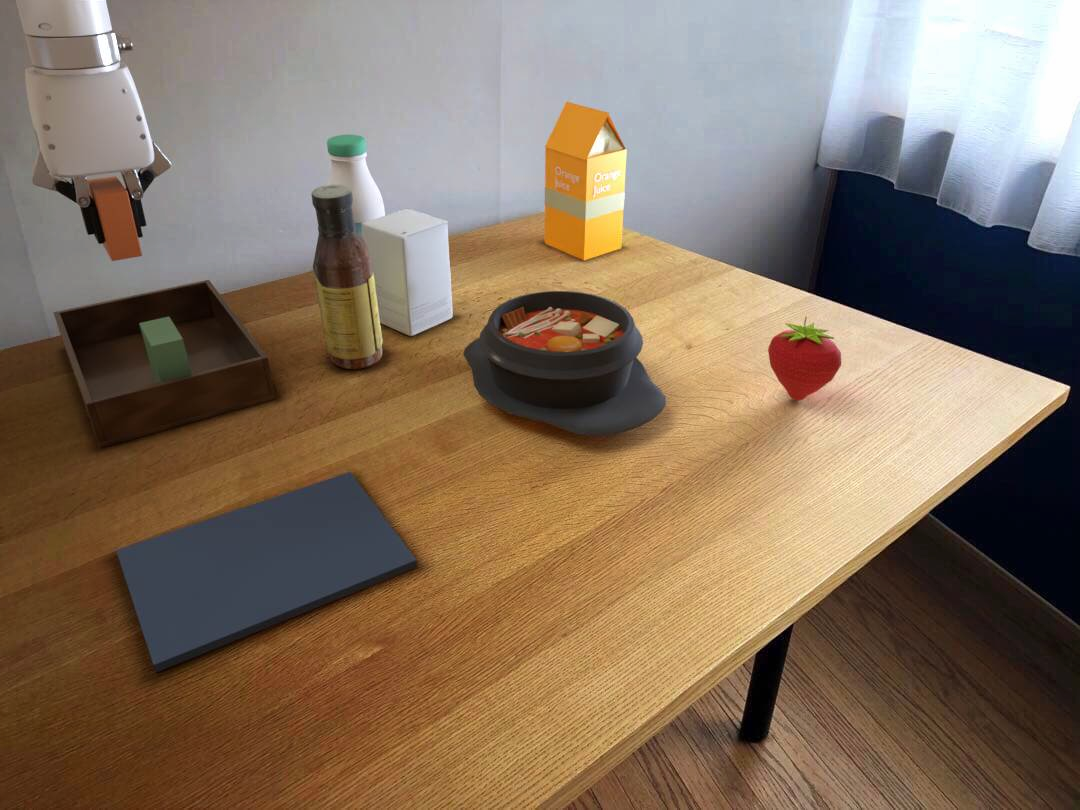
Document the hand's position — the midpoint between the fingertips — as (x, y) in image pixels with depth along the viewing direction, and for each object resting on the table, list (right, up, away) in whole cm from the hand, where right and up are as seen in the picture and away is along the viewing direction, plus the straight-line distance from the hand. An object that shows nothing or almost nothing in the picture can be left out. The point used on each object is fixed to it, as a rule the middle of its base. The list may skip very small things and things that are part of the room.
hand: (118, 235), depth 92 cm
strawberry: (+72, -18, -1) cm, 74 cm away
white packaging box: (+29, -8, +15) cm, 34 cm away
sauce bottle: (+24, -13, +7) cm, 28 cm away
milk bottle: (+21, -3, +22) cm, 31 cm away
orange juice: (+51, +5, +37) cm, 63 cm away
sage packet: (+6, -17, 0) cm, 18 cm away
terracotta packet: (0, -1, +1) cm, 2 cm away
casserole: (+47, -17, +1) cm, 50 cm away
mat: (+23, -31, -22) cm, 44 cm away
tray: (+4, -15, +3) cm, 16 cm away
